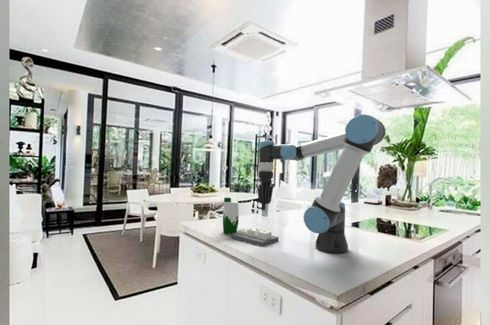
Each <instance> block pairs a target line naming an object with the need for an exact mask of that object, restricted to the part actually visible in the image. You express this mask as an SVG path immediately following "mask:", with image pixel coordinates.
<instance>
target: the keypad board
mask: <svg viewBox="0 0 490 325" xmlns="http://www.w3.org/2000/svg"><path fill="white" fill-rule="evenodd" d="M229 239H233V240H237V241H240V242H244V243H249V244H252V245H255V246H260V247H265V246H267V245H270V244H273V243H276V242H279V236H275V235H272V234H271V239H268V240H263V239H259V238H258V237H251V236H247V234H246V235H242V234H238V231H237V232H236V233H232V234H229Z"/></svg>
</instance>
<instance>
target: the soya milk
mask: <svg viewBox="0 0 490 325" xmlns="http://www.w3.org/2000/svg"><path fill="white" fill-rule="evenodd" d="M222 209H223V210H222V230H223V234H227V235H230V234H232V233H236V232H238V227H239V213H240V211H239V201H238V200H232V198H231V197H224V199H223V207H222Z"/></svg>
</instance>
